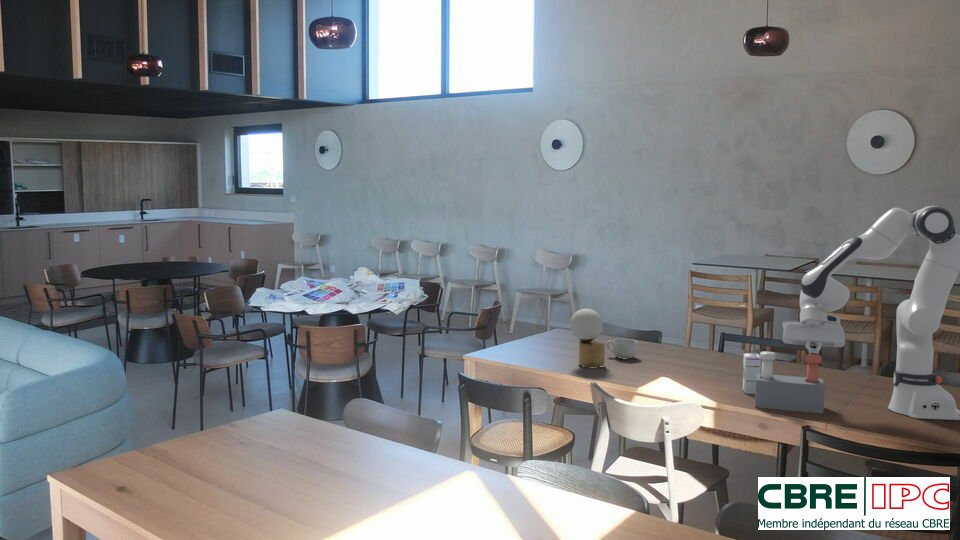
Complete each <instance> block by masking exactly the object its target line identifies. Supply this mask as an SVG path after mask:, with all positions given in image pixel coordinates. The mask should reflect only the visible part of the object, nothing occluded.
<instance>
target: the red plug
mask: <svg viewBox="0 0 960 540" xmlns="http://www.w3.org/2000/svg"><path fill="white" fill-rule="evenodd" d="M804 359H805V360H804V361H805V363H807V364H806V365H807V369H806V377H807V382H809V383H818V378H819V368H820V364H822V359H823V358H822V355H819V354H818V355H809V354H805V358H804Z"/></svg>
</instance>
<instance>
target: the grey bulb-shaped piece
mask: <svg viewBox="0 0 960 540" xmlns="http://www.w3.org/2000/svg"><path fill="white" fill-rule="evenodd" d="M759 356H760V359H761V360H762V361H761V374H762V377H761V379H772V375H773V371H774V370H773V367H774V361H775V360H776V356H777V354H776V352H773V351H765V350H764V351H763V350H762V351H760V352H759Z"/></svg>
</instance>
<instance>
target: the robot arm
mask: <svg viewBox="0 0 960 540" xmlns="http://www.w3.org/2000/svg"><path fill="white" fill-rule="evenodd" d="M912 235H916V236H919V237H922V238H924V239H927V240H928V242H929V246H928V247H929V248H928V251H927V253H926V254H925V257H924V259H923V261H922V263H921V265H920V267H919V270H918V272H917V274H916V276H915V278H914V284H913V287H912V290H911V294H910V297H909V298H908V299H904V300H903V301H902V302H900V303H899V304H898V305H897V308H896V312H895V313H896V315H895V316H896V319H895V320H896V322H895V324H896V325H895V327H896V328H895V329H896V345H897V346H896V361H895V362H896V364H895V365H896V366H895V369H894V371H893V385H894V386H893V391H892V395H891V398H890V402H889V405H888V406H887V408H888V410H890V411H892V412H894V413H897V414H900V415H905V416H908V417H909V418H910V417H911V418H913V419H926V420H949V421H960V409H957V404H956V400H955V397H954V396H952V394H950V392H948V391H947V390H946V389H945V388H943V387H942V386H941V385H939V384H941V383H943V381H944V380H943V378H942V377H941V376H939V375H938V374H936V373H934V372H933V367H934V353H935V351H934V350H935V349H934V344H933V334H934V333H935V332H937V331H938V330H939V328H940V325H941V322H942V318H943V315H944V312H945V308H946V306H947V302H948V298H949V294H950V292H951V290H952V288H953V286H954V283H955V282H956V279H957V278H958V275H959V273H960V234H958V233H956V229H955V220H954V217H953V215H952V214H951V212H950V211H949V210H947V209H946V208H944V207H941V206H937V205H928V206H924V207H921V208H919V209H915V210H913V211H911V212H910V211H908V210H906V209H904V208H900V207H892V208H891V209H889V210H888V211H886V212H884V213H883V215H881V216H879V218H878V219H876V221H875V222H874V223H873V224H872V225H871V226H870V227H869V228H868V229H867V230H866V231H864V233H862V234H860V235H859V236H852V237H850V238H848V239H847V240H845V241H844V242H843V243H842V244H841V245H839V246H838V247H837V248H836V249H834V251H832V252H831V253H830V254H829V255H828V256H827V257H825V259H823V260H822V261H820V262H819V264H817V265H815V267H813V268H811V269H810V270H808V271H806V272H805V274H804V275H803V276H802V277H801V280H800V287H801V290H800V294H799V308H800V312H799V320H790V319H787V320H785V321H783V322H782V324H781V328H782V331H783V336H782V341H783V342H784V344H789V345H802V346H805V348H806V350H807V351H808V355H819V351H820V350H821V349H822V347H831V348H832V347H833V348H843V347H844V346H845V344H846V343H845V342H846V335H845V330H844V327H843V326H842V325H841V318H840V317H838V316H835V315H831V314H827V313H833V312H836V311H840V310H842V309H844V308H845V307H847V305H848V304H849V302H850V299H851V290H850V288H849V287H847V286H846V285H844V284H843V283H841V282H840V281H839V280H836V279H835V278H834V277H832V275H833V274H834V273H836V272H837V271H838V270H839V269H840V268H841V267H842V266H844V265H845V264H846V263H848V262H849V261H850V260H853V259H865V260H872V261H880V260H884V259H887V258H888V257H890V256H891V255H892V254H894V252H895V251H896V250H897V249H899V247H900V246H901V244H902V243H903V242H904V241H905V240H906V239H907V238H909V237H910V236H912ZM811 346H816V348H812V347H811Z"/></svg>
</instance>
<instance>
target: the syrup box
mask: <svg viewBox="0 0 960 540" xmlns="http://www.w3.org/2000/svg"><path fill="white" fill-rule="evenodd" d="M761 360H762V359H760V353H751V352H750V353H743V362H742V363H743V364H742V367H743V368H742V391H743V393H744V394H748V395H755V387H756V374H761V368H762V361H761Z"/></svg>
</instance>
